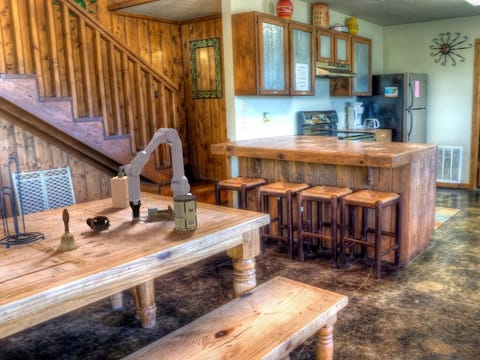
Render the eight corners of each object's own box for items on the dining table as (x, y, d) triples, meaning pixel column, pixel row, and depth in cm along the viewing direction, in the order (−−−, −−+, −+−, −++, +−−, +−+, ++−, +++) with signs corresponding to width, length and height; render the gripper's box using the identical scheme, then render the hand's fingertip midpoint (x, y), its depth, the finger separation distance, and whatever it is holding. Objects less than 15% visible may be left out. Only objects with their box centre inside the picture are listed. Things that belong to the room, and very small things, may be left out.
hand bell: (72, 243, 181) (68, 205, 179) (83, 247, 176) (79, 208, 173) (53, 248, 175) (48, 209, 172) (64, 252, 170) (59, 212, 167)
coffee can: (182, 223, 206) (180, 194, 203) (201, 225, 202) (200, 195, 199) (170, 229, 197) (168, 198, 194) (189, 231, 192) (188, 200, 190)
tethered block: (156, 217, 219) (156, 206, 218) (157, 219, 215) (157, 208, 214) (132, 218, 216) (132, 207, 215) (132, 220, 212) (132, 209, 211)
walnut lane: (170, 214, 223) (170, 205, 222) (173, 219, 215) (172, 209, 214) (149, 216, 220) (148, 207, 220) (151, 221, 212) (150, 211, 211)
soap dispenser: (126, 207, 241) (123, 168, 238) (112, 207, 243) (109, 168, 239) (136, 202, 254) (134, 164, 250) (123, 202, 255) (120, 164, 252)
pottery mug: (115, 229, 202) (114, 216, 197) (105, 243, 195) (103, 230, 190) (91, 222, 204) (89, 209, 198) (80, 236, 196) (78, 223, 191)
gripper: (125, 186, 217) (127, 213, 220) (126, 192, 204) (128, 220, 206) (139, 185, 219) (141, 212, 222) (141, 191, 206) (143, 219, 208)
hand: (136, 216), depth 214 cm, fingers closed on tethered block, 3 cm apart
